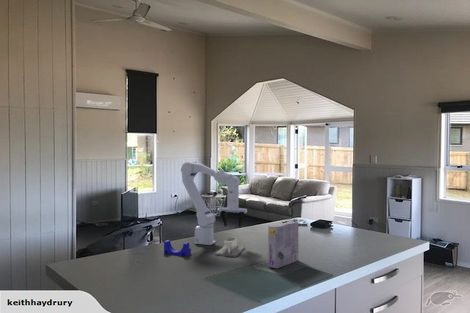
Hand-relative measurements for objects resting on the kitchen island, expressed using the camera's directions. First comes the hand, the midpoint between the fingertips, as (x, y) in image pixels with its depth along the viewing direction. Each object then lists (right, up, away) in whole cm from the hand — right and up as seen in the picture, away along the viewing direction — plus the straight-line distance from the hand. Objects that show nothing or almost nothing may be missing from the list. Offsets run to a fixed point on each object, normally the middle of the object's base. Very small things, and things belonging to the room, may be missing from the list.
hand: (232, 226), depth 211 cm
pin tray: (-1, -10, -11) cm, 15 cm away
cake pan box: (+23, -11, -30) cm, 40 cm away
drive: (-1, -9, -12) cm, 15 cm away
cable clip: (-26, -11, -16) cm, 32 cm away
